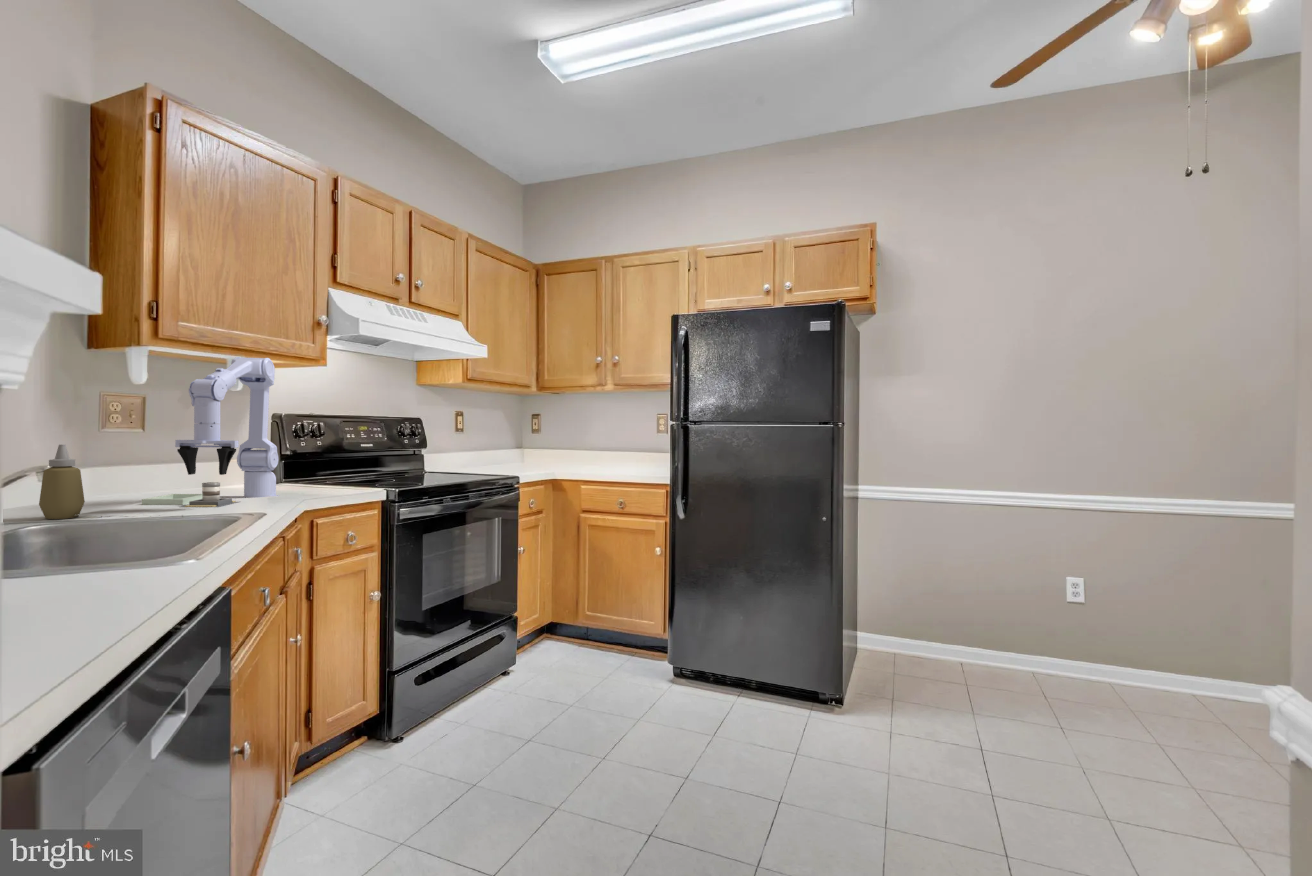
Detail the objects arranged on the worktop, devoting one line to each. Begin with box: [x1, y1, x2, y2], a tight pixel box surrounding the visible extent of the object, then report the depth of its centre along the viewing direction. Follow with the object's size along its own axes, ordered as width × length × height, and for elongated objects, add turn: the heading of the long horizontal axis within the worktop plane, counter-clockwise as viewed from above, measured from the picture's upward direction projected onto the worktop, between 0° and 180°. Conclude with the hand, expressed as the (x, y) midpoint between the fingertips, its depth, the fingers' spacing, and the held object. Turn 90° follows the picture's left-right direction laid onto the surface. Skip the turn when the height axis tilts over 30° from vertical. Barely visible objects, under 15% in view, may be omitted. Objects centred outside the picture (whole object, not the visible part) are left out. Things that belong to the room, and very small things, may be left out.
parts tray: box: [141, 493, 202, 506], centre depth 176 cm, size 13×10×2 cm
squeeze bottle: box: [38, 444, 86, 520], centre depth 151 cm, size 8×8×18 cm
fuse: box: [201, 481, 221, 501], centre depth 172 cm, size 4×4×6 cm
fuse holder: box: [180, 497, 240, 508], centre depth 172 cm, size 12×10×2 cm
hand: (207, 474), depth 165 cm, fingers open, 7 cm apart
